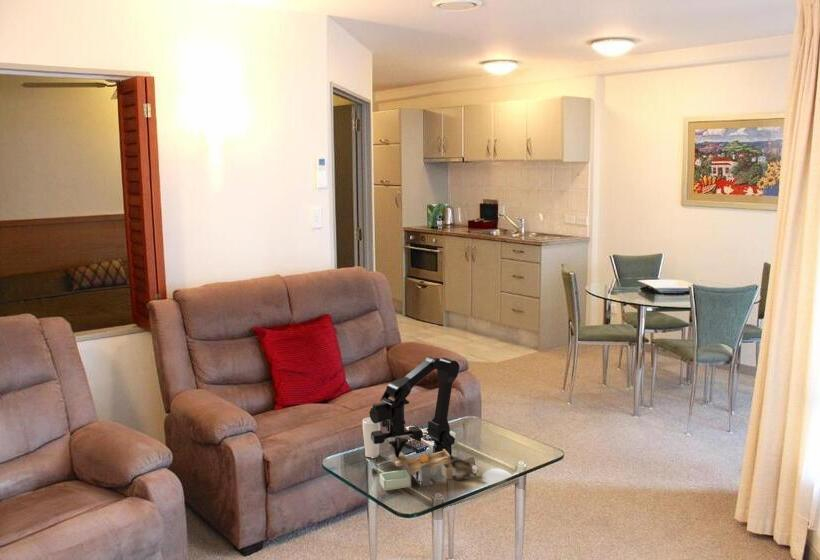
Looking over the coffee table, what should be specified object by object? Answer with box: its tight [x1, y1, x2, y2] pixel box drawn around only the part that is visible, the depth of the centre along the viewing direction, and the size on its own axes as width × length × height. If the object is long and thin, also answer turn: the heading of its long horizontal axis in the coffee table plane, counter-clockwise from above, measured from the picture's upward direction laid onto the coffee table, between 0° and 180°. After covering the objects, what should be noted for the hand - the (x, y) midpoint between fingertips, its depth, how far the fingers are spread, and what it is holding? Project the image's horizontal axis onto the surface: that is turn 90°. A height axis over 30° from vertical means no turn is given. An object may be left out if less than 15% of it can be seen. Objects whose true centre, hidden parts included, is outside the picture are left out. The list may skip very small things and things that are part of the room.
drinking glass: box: [362, 416, 381, 459], centre depth 286 cm, size 7×7×15 cm
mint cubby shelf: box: [378, 469, 412, 492], centre depth 264 cm, size 10×7×4 cm
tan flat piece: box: [388, 449, 452, 474], centre depth 269 cm, size 20×14×3 cm
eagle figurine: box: [450, 458, 479, 481], centre depth 269 cm, size 8×7×9 cm
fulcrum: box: [412, 456, 454, 488], centre depth 268 cm, size 13×9×7 cm
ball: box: [419, 454, 429, 463], centre depth 266 cm, size 3×3×3 cm
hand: (396, 456), depth 272 cm, fingers closed, pressing on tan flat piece
